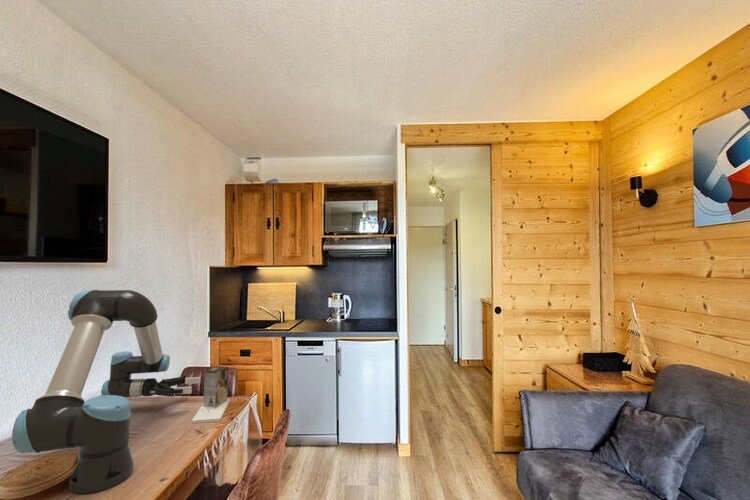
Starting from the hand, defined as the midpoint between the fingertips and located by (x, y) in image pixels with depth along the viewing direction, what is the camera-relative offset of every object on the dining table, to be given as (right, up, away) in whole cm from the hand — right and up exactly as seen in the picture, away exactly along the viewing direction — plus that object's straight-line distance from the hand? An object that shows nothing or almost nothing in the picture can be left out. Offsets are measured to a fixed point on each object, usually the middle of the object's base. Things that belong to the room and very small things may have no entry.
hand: (196, 384), depth 154 cm
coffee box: (+8, -10, +1) cm, 13 cm away
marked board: (+10, -10, -4) cm, 15 cm away
